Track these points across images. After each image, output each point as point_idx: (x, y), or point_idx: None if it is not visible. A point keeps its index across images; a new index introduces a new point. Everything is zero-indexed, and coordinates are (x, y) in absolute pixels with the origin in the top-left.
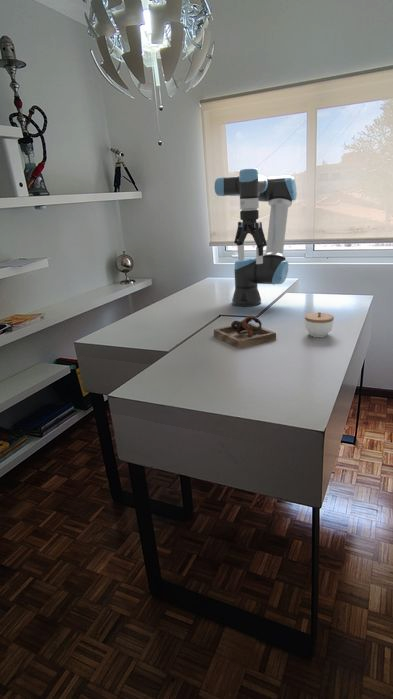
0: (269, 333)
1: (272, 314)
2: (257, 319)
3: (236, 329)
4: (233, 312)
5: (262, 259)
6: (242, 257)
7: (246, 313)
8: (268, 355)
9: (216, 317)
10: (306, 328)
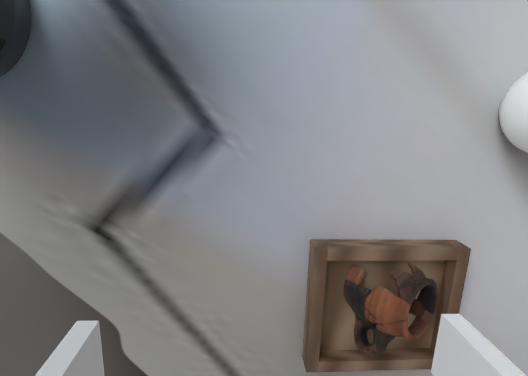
0: (460, 268)
1: (220, 52)
2: (420, 289)
3: (367, 329)
4: (85, 162)
5: (489, 345)
6: (85, 369)
7: (135, 129)
8: (520, 323)
9: (115, 253)
10: (522, 150)
